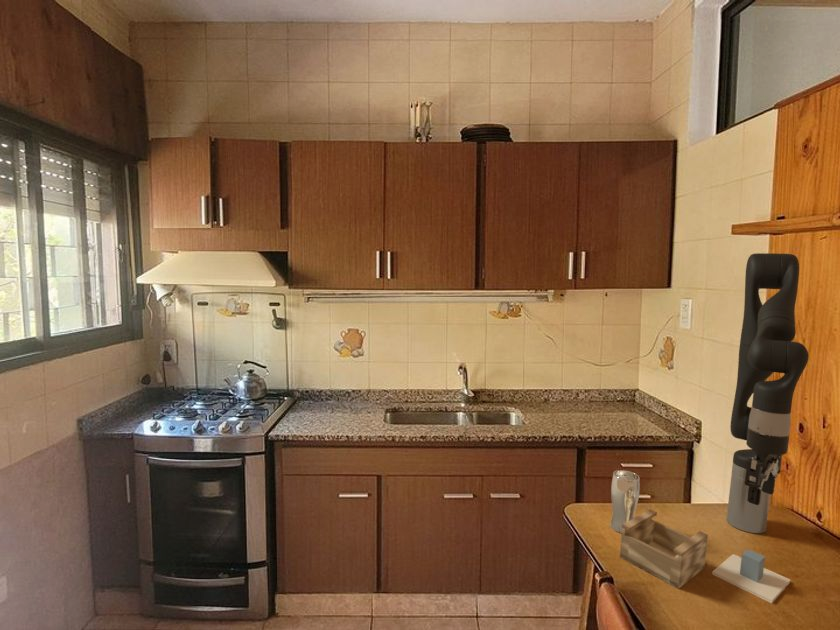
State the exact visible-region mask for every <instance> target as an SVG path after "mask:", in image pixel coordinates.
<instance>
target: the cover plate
mask: <svg viewBox="0 0 840 630" xmlns="http://www.w3.org/2000/svg"><path fill="white" fill-rule="evenodd" d="M765 560H766V555H762V554H761V553H758V552H755V551H753V550H752V549H748V548H747V549H746V550H745V551H743V553H742V554H741V556H739V555H737V554H734V553H732V554H731V555H730V556H729V557H728V558H727V559H725V560H724V561H723V562H722V563H721V564H719V565H718V566H717V567H716V568H715V569H714V570H712V572H711V575H712V576H714V577H716V578H719V579H721V580H723V581H725V582H727V583H729V584H731V585H733V586H735V587H737V588H738V589H741V590H743V591H745V592H748V593H750V594H752V595H754V596H756V597H758V598H760V599H762V600H764V601H766V602H768V603H770V604H773V603H774V601H776V599H777V598H778V597H779V596H780V595H781V594H782V592H783V591H784V590H785V589H786V588H787V587H786V586H789V584H791V579H790V578H788V577H786V576H784V575H781V574H778V573H777V572H774V571H772V570H770V569H767V568H765ZM785 587H786V588H785Z"/></svg>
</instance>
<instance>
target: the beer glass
mask: <svg viewBox="0 0 840 630" xmlns="http://www.w3.org/2000/svg"><path fill="white" fill-rule="evenodd" d="M640 488H641V487H640V476H639V475H638V474H637V473H634V472H632V471H630V470H624V469H623V470H621V469H616V470H614V471H613V473H612V480H611V487H610V498H611V506H612V516H611V520H610V522H609V527H610V526H611V527H610V528H611V530H613V529H614V530H615V532H616V531H617V533H619V532H620V533H619V534H622V525H623V524H624V523H626V522H628V521H630V520H632V519H633V518H635V513H636V510H637V506H638V502H639V498H640ZM614 530H613V531H614Z"/></svg>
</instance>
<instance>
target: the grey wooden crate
mask: <svg viewBox="0 0 840 630" xmlns="http://www.w3.org/2000/svg"><path fill="white" fill-rule="evenodd" d="M657 514H658V513H657V511H654V510H652V509H648V510H646V511H644V512H643V513H641V514H639V515H637V516H636V517H635V516H634V518H633V519H632V520H630V521H628V522H626V523H624V524H623V525H622V533H621V539H620V551H619V558H621V559H622V558H623V560H625V561H626V562H628V563H630V564H632V565H633V566H636V567H638V568H640V569H641V570H644V571H645V572H646V573H648V574H650V575H652V576H655V578H658V579H659V580H661V581H663V582H665V583H667V584H668V585H670V586H673V587H674V588H676V589H680V588H681V587H683V586H684V585H685V584H687V582H688V581H690V580H692V578H695V576H696V575H698V574H699V573H701V571H703V570H704V569H705V565H706V557H707V555H706V554H707V547H708V537H709V536H708V535H709V534H707V533H705V532H702V531H698V532H696V533H695V534H694V535H692V536H689V535H687V534H684V533H683V532H680V531H679V530H676V529H674V528H672V527H670V526H668V525H665V524H663V523H660V522H659V521H656V520H654V519H653V518H654V517H656V516H657Z"/></svg>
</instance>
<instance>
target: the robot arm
mask: <svg viewBox="0 0 840 630" xmlns="http://www.w3.org/2000/svg"><path fill="white" fill-rule="evenodd" d="M746 261H747V262H746V265H745V266H746V268H745V276H744V277H745V278H744V279H745V280H744V281H745V284H744V305H743V306H744V307H743V318H742V326H741V331H740V332H741V333H740V340H739V347H738V361H737V362H738V364H737V376H736V378H737V380H736V388H735V394H734V400H733V404H732V405H733V406H732V411H731V417H730V426H729V427H730V434H731V436H732V437H734V438H735V439H739V440H743V441H746V446H747V447H748V448H747V449H739V450H735V452H734V453H733V457H732V464H731V465H732V466H731V467H732V468H731V477H730V485H729V493H728V503H727V512H726V522H727V523H728V524H730V525H731V526H732V527H733V528H736V529H738V530H740V531H744V532H747V533H752V534H763V533H765V532H766V530H767V525H768V516H769V508H770V507H769V506H770V501H771V495H773V494H774V493H775V486H776V479H777V478H778V475H780V474H781V472H782V471H781V469H782V467H781V466H782V459H783V455H784V456H785V455H786V454H787V453H788V450H789V442H790V435H791V425H792V405H793V397H794V394H795V389H796V387H797V384H798V382H799V380H800V378H801V376H802V374H803V373H804V370H805V369H806V366H807V365H808V362H809V358H810V357H809V356H810V355H809V350H808V349H807V347H806V346H805V345H804V344H802V343H800V342H799V341H798V342H797V341H793V340H794V339H795V337H796V332H797V331H796V321H795V320H796V319H795V308H796V303H797V297H798V288H799V280H800V279H799V278H800V261H799V258H798V257H797V256H796V255H795V254H792V253H770V252H768V253H765V252H763V253H762V252H761V253H760V252H759V253H757V252H756V253H752V254H750V255H749V256H748V259H747V260H746ZM760 289H761V290H762V289H763V290H764V289H765V290H778V291H777V292H776V293H775V294H774V295H773V296H771V297H770V298H769V299H767V300H766V301H765V302H764V303H762V301H761V297H760V293H759V290H760ZM774 373H779V374H783V375H782V377H780V378H779V379H775V380H767V379H769V377H771V375H772V374H774ZM751 397H752V403H751V404H752V405H751V406H748V402H749V400H750V399H751Z"/></svg>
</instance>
